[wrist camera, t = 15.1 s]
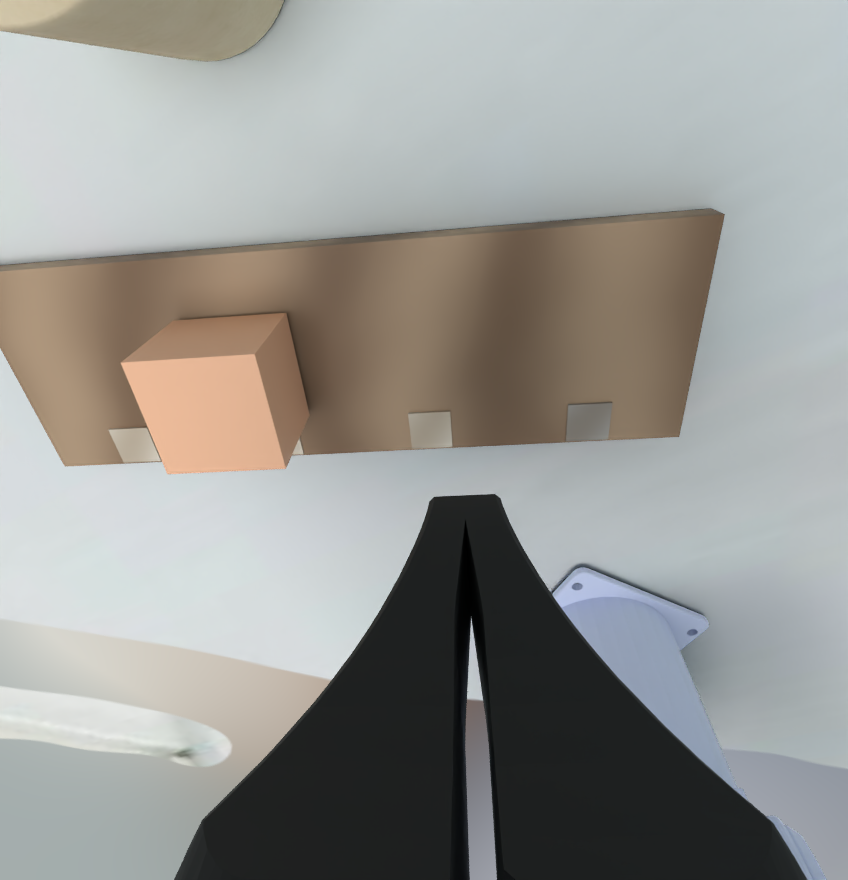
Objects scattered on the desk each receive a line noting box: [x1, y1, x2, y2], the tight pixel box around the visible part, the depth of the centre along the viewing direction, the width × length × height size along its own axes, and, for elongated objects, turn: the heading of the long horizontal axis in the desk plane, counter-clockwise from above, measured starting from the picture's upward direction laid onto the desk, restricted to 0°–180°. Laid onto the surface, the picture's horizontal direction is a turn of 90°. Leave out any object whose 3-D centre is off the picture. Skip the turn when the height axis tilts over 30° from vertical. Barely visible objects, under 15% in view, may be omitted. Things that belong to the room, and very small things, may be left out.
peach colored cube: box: [121, 313, 310, 474], centre depth 18 cm, size 4×4×4 cm
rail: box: [0, 209, 725, 466], centre depth 20 cm, size 25×8×1 cm, turn 95°
